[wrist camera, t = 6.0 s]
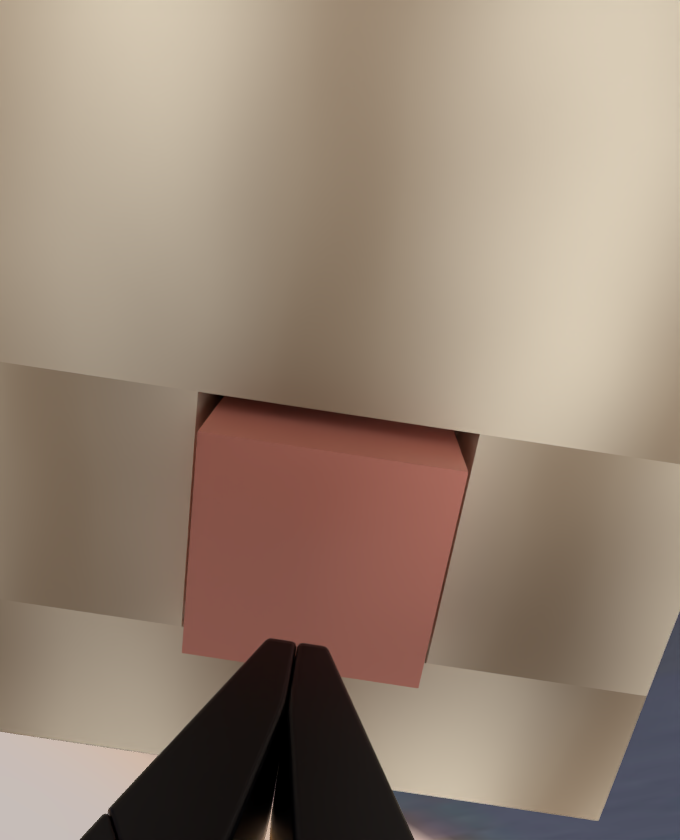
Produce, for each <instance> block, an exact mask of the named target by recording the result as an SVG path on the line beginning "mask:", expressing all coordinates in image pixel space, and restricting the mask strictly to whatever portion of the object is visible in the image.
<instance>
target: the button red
mask: <svg viewBox="0 0 680 840" xmlns="http://www.w3.org/2000/svg"><path fill="white" fill-rule="evenodd" d="M467 476H468V470H467V467H466V464H465V461H464V458H463V456H462V453H461V450H460V447H459V444H458V442H457V439H456V436H455V433H454V430H449V429H443V428H436V427H429V426H423V425H416V424H409V423H403V422H396V421H390V420H383V419H376V418H370V417H363V416H356V415H350V414H343V413H337V412H330V411H323V410H317V409H310V408H303V407H297V406H290V405H284V404H277V403H270V402H264V401H257V400H250V399H244V398H237V397H230V396H224V397H223V398H222V400H221V401H220V402H219V403H218V405H217V406H216V407H215V409H214V410H213V411H212V413H211V414H210V415H209V417H208V418H207V419H206V421H205V422H204V423H203V425H202V426H201V427H200V429H199V430H198V432H197V446H196V460H195V474H194V488H193V502H192V516H191V530H190V544H189V558H188V572H187V586H186V600H185V614H184V629H183V643H182V653H185V654H192V655H198V656H205V657H212V658H218V659H225V660H232V661H238V662H246V661H247V660H248V658H249V657H250V656H251V655H252V654H253V653H254V652H255V651H256V650H257V649H258V648H259V647H260V646H261V644H262V643H263V642H264V641H265V640H267V639H269V638H274V639H281V640H288V641H293V642H294V643H296V650H297V646H298V645H299V644H300V643H308V644H315V645H321V646H325V647H327V648H328V650H329V652H330V654H331V656H332V658H333V660H334V663H335V665H336V667H337V669H338V671H339V674H340V676H341V677H345V678H352V679H359V680H365V681H372V682H379V683H385V684H392V685H399V686H405V687H412V688H419V683H420V679H421V675H422V670H423V666H424V662H425V657H426V653H427V649H428V644H429V640H430V636H431V632H432V627H433V623H434V619H435V614H436V610H437V606H438V601H439V597H440V593H441V588H442V584H443V580H444V575H445V571H446V567H447V562H448V558H449V554H450V550H451V545H452V541H453V537H454V532H455V528H456V524H457V519H458V515H459V511H460V506H461V502H462V498H463V493H464V489H465V485H466V480H467ZM295 656H296V655H295Z"/></svg>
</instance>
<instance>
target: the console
mask: <svg viewBox="0 0 680 840" xmlns="http://www.w3.org/2000/svg"><path fill="white" fill-rule="evenodd" d="M224 396H230V397H237V398H244V399H250V400H257V401H264V402H270V403H277V404H284V405H290V406H297V407H303V408H310V409H317V410H323V411H330V412H337V413H343V414H350V415H356V416H363V417H370V418H376V419H383V420H390V421H396V422H403V423H409V424H416V425H423V426H429V427H436V428H443V429H449V430H454V433H455V436H456V439H457V442H458V444H459V447H460V450H461V453H462V456H463V458H464V461H465V464H466V467H467V470H468V476H467V480H466V485H465V489H464V493H463V498H462V502H461V506H460V511H459V515H458V519H457V524H456V528H455V532H454V537H453V541H452V545H451V550H450V554H449V558H448V562H447V567H446V571H445V575H444V580H443V584H442V588H441V593H440V597H439V601H438V606H437V610H436V614H435V619H434V623H433V627H432V632H431V636H430V640H429V644H428V649H427V653H426V657H425V662H424V666H423V670H422V675H421V679H420V683H419V688H412V687H405V686H399V685H392V684H385V683H379V682H372V681H365V680H359V679H352V678H345V677H341V678H342V680H343V682H344V685H345V687H346V689H347V691H348V694H349V696H350V698H351V700H352V702H353V705H354V707H355V709H356V711H357V714H358V716H359V718H360V720H361V722H362V725H363V727H364V729H365V731H366V733H367V736H368V738H369V740H370V742H371V745H372V747H373V749H374V751H375V753H376V756H377V758H378V760H379V762H380V764H381V767H382V769H383V771H384V773H385V776H386V778H387V780H388V782H389V784H390V787H391V789H392V790H395V791H402V792H409V793H415V794H422V795H429V796H435V797H442V798H449V799H455V800H462V801H469V802H476V803H482V804H489V805H496V806H502V807H509V808H516V809H523V810H529V811H536V812H543V813H549V814H556V815H563V816H569V817H576V818H583V819H590V820H596V821H599V818H600V815H601V813H602V810H603V808H604V805H605V803H606V800H607V797H608V795H609V792H610V790H611V787H612V784H613V782H614V779H615V777H616V774H617V772H618V769H619V766H620V764H621V761H622V759H623V756H624V753H625V751H626V748H627V746H628V743H629V741H630V738H631V735H632V733H633V730H634V728H635V725H636V722H637V720H638V717H639V715H640V712H641V710H642V707H643V704H644V702H645V699H646V697H647V694H648V691H649V689H650V686H651V684H652V681H653V679H654V676H655V673H656V671H657V668H658V666H659V663H660V660H661V658H662V655H663V653H664V650H665V648H666V645H667V642H668V640H669V637H670V635H671V632H672V629H673V627H674V624H675V622H676V619H677V617H678V614H679V611H680V0H0V732H7V733H13V734H20V735H27V736H33V737H40V738H47V739H53V740H61V741H67V742H73V743H80V744H87V745H94V746H101V747H107V748H114V749H120V750H127V751H134V752H141V753H147V754H154V755H159V754H160V753H161V752H162V751H163V750H164V749H165V748H166V747H167V746H168V744H169V743H170V742H171V741H172V740H173V739H174V738H175V737H176V736H177V735H178V734H179V733H180V732H181V731H182V729H183V728H184V727H185V726H186V725H187V724H188V723H189V722H190V721H191V720H192V719H193V718H194V717H195V715H196V714H197V713H198V712H199V711H200V710H201V709H202V708H203V707H204V706H205V705H206V704H207V703H208V701H209V700H210V699H211V698H212V697H213V696H214V695H215V694H216V693H217V692H218V691H219V690H220V689H221V687H222V686H223V685H224V684H225V683H226V682H227V681H228V680H229V679H230V678H231V677H232V676H233V675H234V674H235V672H236V671H237V670H238V669H239V668H240V667H241V666H242V665H243V664H244V663H245V662H238V661H232V660H225V659H218V658H212V657H205V656H198V655H192V654H185V653H182V643H183V629H184V614H185V600H186V586H187V572H188V558H189V544H190V530H191V516H192V502H193V488H194V474H195V460H196V446H197V432H198V430H199V429H200V427H201V426H202V425H203V423H204V422H205V421H206V419H207V418H208V417H209V415H210V414H211V413H212V411H213V410H214V409H215V407H216V406H217V405H218V403H219V402H220V401H221V400H222V398H223V397H224ZM277 773H278V772H277Z"/></svg>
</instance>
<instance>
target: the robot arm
mask: <svg viewBox="0 0 680 840" xmlns="http://www.w3.org/2000/svg"><path fill="white" fill-rule="evenodd" d="M295 655H296V656H295ZM277 772H278V773H277ZM276 779H277V780H276ZM275 785H276V786H275ZM274 791H275V793H274ZM273 798H274V800H273ZM272 803H273V808H272ZM271 809H272V816H271V828H270V840H414V838H413V835H412V833H411V831H410V829H409V827H408V824H407V822H406V820H405V818H404V815H403V813H402V811H401V809H400V807H399V804H398V802H397V800H396V798H395V796H394V793H393V791H392V789H391V787H390V784H389V782H388V780H387V778H386V776H385V773H384V771H383V769H382V767H381V764H380V762H379V760H378V758H377V756H376V753H375V751H374V749H373V747H372V745H371V742H370V740H369V738H368V736H367V733H366V731H365V729H364V727H363V725H362V722H361V720H360V718H359V716H358V714H357V711H356V709H355V707H354V705H353V702H352V700H351V698H350V696H349V694H348V691H347V689H346V687H345V685H344V682H343V680H342V678H341V676H340V674H339V671H338V669H337V667H336V665H335V663H334V660H333V658H332V656H331V654H330V652H329V650H328V648H327V647H325V646H321V645H315V644H308V643H300V644H299V645H298V646H297V650H296V643H294V642H293V641H288V640H281V639H274V638H269V639H267V640H265V641H264V642H263V643H262V644H261V646H260V647H259V648H258V649H257V650H256V651H255V652H254V653H253V654H252V655H251V656H250V657H249V658H248V660H247V661H246V662H245V663H244V664H243V665H242V666H241V667H240V668H239V669H238V670H237V671H236V672H235V674H234V675H233V676H232V677H231V678H230V679H229V680H228V681H227V682H226V683H225V684H224V685H223V686H222V687H221V689H220V690H219V691H218V692H217V693H216V694H215V695H214V696H213V697H212V698H211V699H210V700H209V701H208V703H207V704H206V705H205V706H204V707H203V708H202V709H201V710H200V711H199V712H198V713H197V714H196V715H195V717H194V718H193V719H192V720H191V721H190V722H189V723H188V724H187V725H186V726H185V727H184V728H183V729H182V731H181V732H180V733H179V734H178V735H177V736H176V737H175V738H174V739H173V740H172V741H171V742H170V743H169V744H168V746H167V747H166V748H165V749H164V750H163V751H162V752H161V753H160V754H159V755H158V756H157V757H156V758H155V760H154V761H153V762H152V763H151V764H150V765H149V766H148V767H147V768H146V769H145V770H144V771H143V772H142V774H141V775H140V776H139V777H138V778H137V779H136V780H135V781H134V782H133V783H132V784H131V785H130V786H129V788H128V789H127V790H126V791H125V792H124V793H123V794H122V795H121V796H120V797H119V798H118V799H117V800H116V802H115V803H114V804H113V805H112V806H111V807H110V808H109V810H108V814H104V815H102V816H101V817H100V818H99V819H98V820H97V822H96V823H95V824H94V825H93V826H92V827H91V828H90V829H89V830H88V831H87V832H86V833H85V834H84V836H83V837H82V838H81V839H80V840H264V839H265V835H266V831H267V827H268V823H269V819H270V814H271Z"/></svg>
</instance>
